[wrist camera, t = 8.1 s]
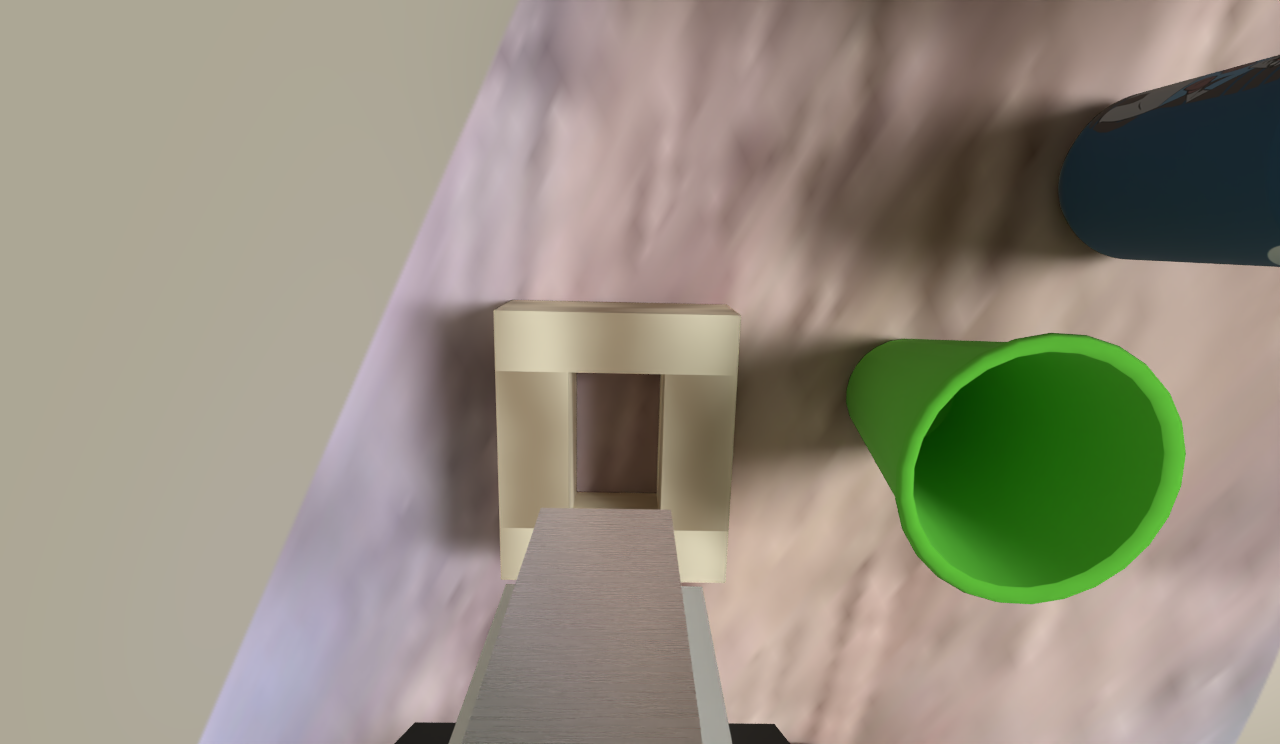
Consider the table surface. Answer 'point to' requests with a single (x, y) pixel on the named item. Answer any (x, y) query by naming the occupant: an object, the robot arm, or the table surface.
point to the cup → (1021, 458)
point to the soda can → (1182, 172)
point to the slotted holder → (547, 416)
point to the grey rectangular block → (592, 638)
